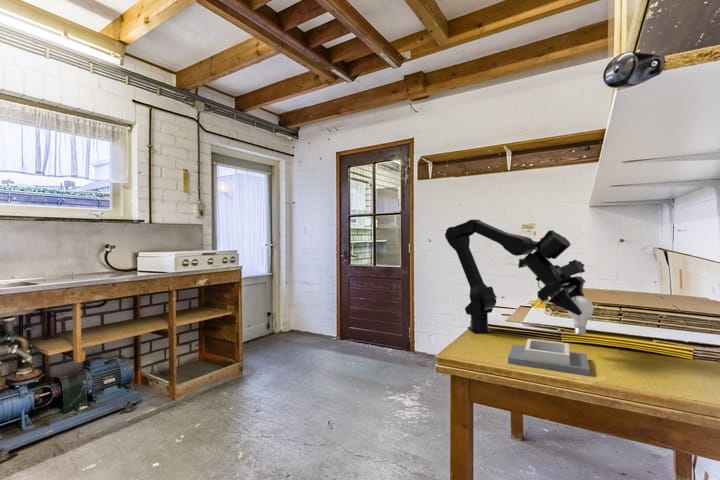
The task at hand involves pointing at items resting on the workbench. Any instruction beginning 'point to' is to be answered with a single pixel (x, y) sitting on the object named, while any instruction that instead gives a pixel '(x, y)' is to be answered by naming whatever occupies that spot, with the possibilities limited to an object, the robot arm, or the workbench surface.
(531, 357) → the holder
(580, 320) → the lightbulb
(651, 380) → the workbench surface
